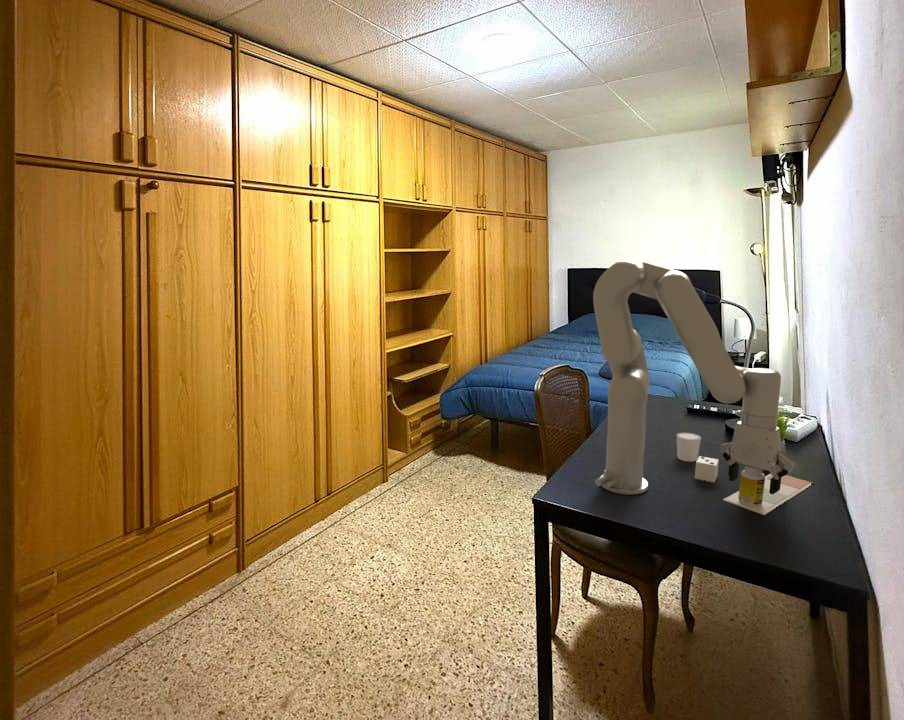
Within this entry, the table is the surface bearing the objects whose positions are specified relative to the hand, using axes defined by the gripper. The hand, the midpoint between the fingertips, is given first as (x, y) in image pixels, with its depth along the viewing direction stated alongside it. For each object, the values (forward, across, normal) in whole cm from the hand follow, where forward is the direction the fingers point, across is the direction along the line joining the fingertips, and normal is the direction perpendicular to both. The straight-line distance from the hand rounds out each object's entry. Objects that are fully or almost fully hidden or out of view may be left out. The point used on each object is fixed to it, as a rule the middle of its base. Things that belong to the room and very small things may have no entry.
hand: (753, 485), depth 135 cm
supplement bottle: (+5, 0, 0) cm, 5 cm away
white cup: (+5, -26, +15) cm, 31 cm away
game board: (+5, 0, +10) cm, 11 cm away
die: (+5, -15, +6) cm, 17 cm away
